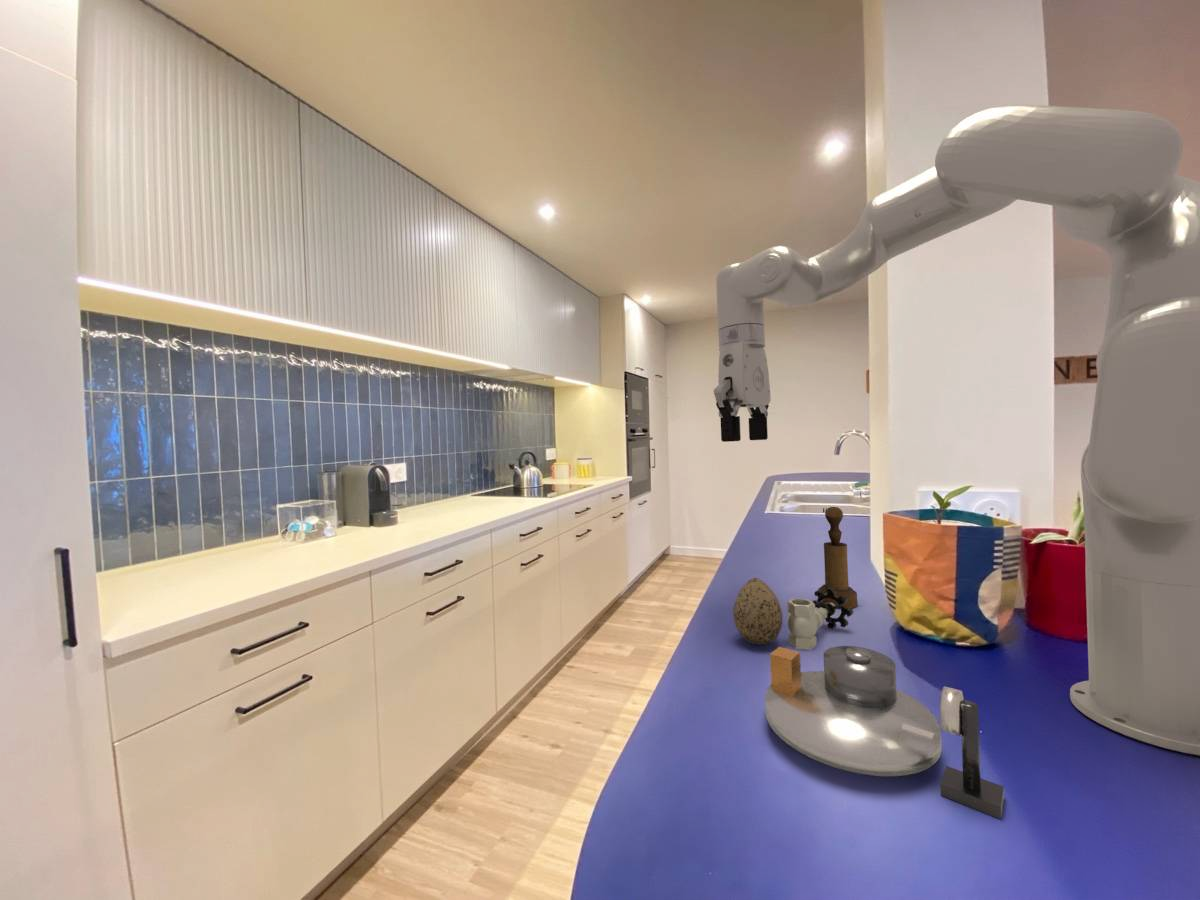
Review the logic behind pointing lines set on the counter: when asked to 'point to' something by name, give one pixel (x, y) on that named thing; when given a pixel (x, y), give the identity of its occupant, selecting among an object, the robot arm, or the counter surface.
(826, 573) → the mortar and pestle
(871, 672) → the cover
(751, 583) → the decorative egg
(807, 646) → the valve
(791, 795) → the counter surface
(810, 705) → the turntable
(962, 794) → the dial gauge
